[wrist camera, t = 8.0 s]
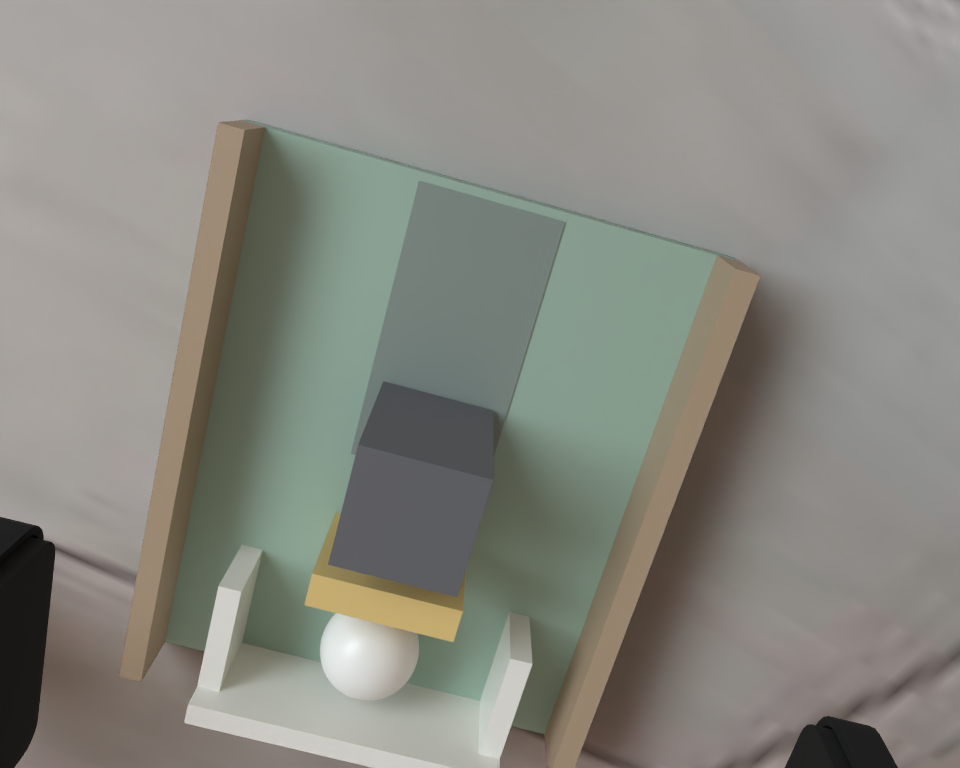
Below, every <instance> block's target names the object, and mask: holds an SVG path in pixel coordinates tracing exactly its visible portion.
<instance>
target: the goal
mask: <svg viewBox="0 0 960 768" xmlns="http://www.w3.org/2000/svg"><path fill="white" fill-rule="evenodd" d="M262 552H263V550H262V549H258V548H254V547H250V546H246V545H241V547H240V549H239V551H238V552H237V554H236V556H235V558H234V560H233V561H232V563H231V565H230V567H229V568H228V570H227V572H226V574H225V575H224V577H223V579H222V581H221V582H220V584H219V586H218V590H217V595H216V600H215V605H214V609H213V614H212V619H211V623H210V628H209V633H208V638H207V642H206V647H205V652H204V657H203V661H202V666H201V671H200V676H199V680H198V685H197V688H196V690H195V692H194V694H193V696H192V698H191V700H190V702H189V703H188V707H187V712H186V717H185V721H184V723H186V724H191V725H195V726H199V727H203V728H207V729H212V730H216V731H220V732H224V733H228V734H233V735H237V736H241V737H245V738H250V739H254V740H258V741H262V742H266V743H271V744H275V745H279V746H283V747H287V748H292V749H296V750H300V751H304V752H308V753H313V754H317V755H321V756H325V757H330V758H334V759H338V760H342V761H346V762H351V763H355V764H359V765H363V766H367V767H372V768H500V757H501V754H502V751H503V748H504V745H505V742H506V739H507V736H508V734H509V731H510V728H511V725H512V722H513V719H514V716H515V713H516V710H517V707H518V705H519V702H520V699H521V696H522V693H523V690H524V687H525V684H526V681H527V678H528V676H529V673H530V670H531V667H532V649H531V634H530V619H529V617H528V616H524V615H520V614H516V613H512V612H509V614H508V617H507V620H506V623H505V626H504V629H503V632H502V635H501V638H500V642H499V645H498V648H497V651H496V654H495V657H494V660H493V663H492V666H491V669H490V672H489V675H488V678H487V681H486V684H485V687H484V690H483V693H482V696H481V699H480V701H478V700H474V699H470V698H466V697H462V696H457V695H453V694H449V693H445V692H441V691H437V690H433V689H429V688H425V687H421V686H417V685H412V684H408V683H406V684H405V685H404V686H403V687H402V688H401V689H399V690H398V691H397V692H395V693H394V694H392V695H390V696H388V697H386V698H383V699H379V700H374V701H362V700H356V699H353V698H350V697H348V696H346V695H344V694H342V693H341V692H340V691H338V690H337V689H336V688H335V687H334V686H333V685H332V684H331V683H330V681H329V680H328V678H327V677H326V675H325V673H324V670H323V667H322V664H321V662H318V661H314V660H310V659H306V658H302V657H298V656H294V655H290V654H286V653H281V652H277V651H273V650H269V649H265V648H261V647H257V646H253V645H249V644H245V643H242V640H243V636H244V632H245V627H246V623H247V618H248V614H249V609H250V605H251V601H252V596H253V592H254V587H255V583H256V578H257V574H258V570H259V565H260V561H261V556H262Z"/></svg>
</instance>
